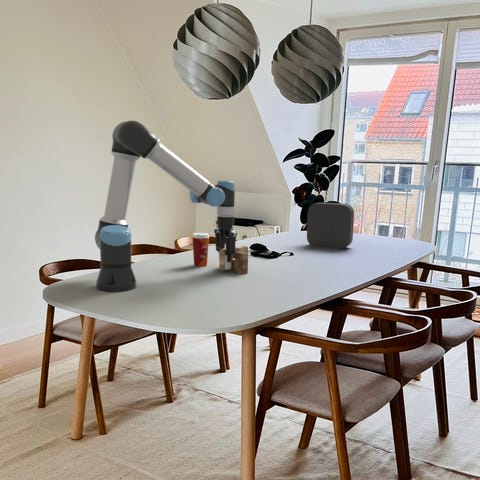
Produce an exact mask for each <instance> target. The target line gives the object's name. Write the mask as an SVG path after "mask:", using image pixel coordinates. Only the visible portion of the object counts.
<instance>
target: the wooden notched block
mask: <svg viewBox="0 0 480 480" xmlns="http://www.w3.org/2000/svg"><path fill="white" fill-rule="evenodd" d="M227 271H230V272H234V273H237V274H240V275H241V274H242V275H245V274H248V272H249V252H248V253H245V252H241V251H239V252H235V258H234V259H232V264H231V269H227Z"/></svg>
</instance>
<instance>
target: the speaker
mask: <svg viewBox="0 0 480 480" xmlns="http://www.w3.org/2000/svg"><path fill="white" fill-rule="evenodd" d="M306 219H307V220H306V221H307V222H306V223H307V224H306V240H307V243H308V244H309V245H310V246H312V247H314V246H316V247H315V248H322V247H328V248H327V249H334V248H340V249H339V250H343V249H346V248H348V247H349V246H350V245H352V242H353V239H354V238H353V237H354V225H355V223H354V220H355V211H354V208H353V206H351V205H350V204H348V203H340V202H339V203H338V202H315V203H312V204H311V205H309V207H308V210H307V218H306Z"/></svg>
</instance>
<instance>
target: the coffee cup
mask: <svg viewBox="0 0 480 480" xmlns="http://www.w3.org/2000/svg"><path fill="white" fill-rule="evenodd" d="M191 238H192V254H193V266H194V267H197V268H203V267H207V266H208V254H209V242H210V240H209V239H210V235H209V233H207V232H194V233H192V236H191Z"/></svg>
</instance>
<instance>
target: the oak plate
mask: <svg viewBox="0 0 480 480" xmlns="http://www.w3.org/2000/svg"><path fill="white" fill-rule="evenodd" d="M239 251H241V252H245V253H248V254H249V246H246V245H239V246H235V252H239ZM225 254H226V247H225V248H223V249H220V255H219V254H218V260H219V269H220V270H221V271H226V270H227V269H225ZM232 259H233V260H235V253H234V254H232V255H231V264H232ZM227 271H228V270H227Z"/></svg>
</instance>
